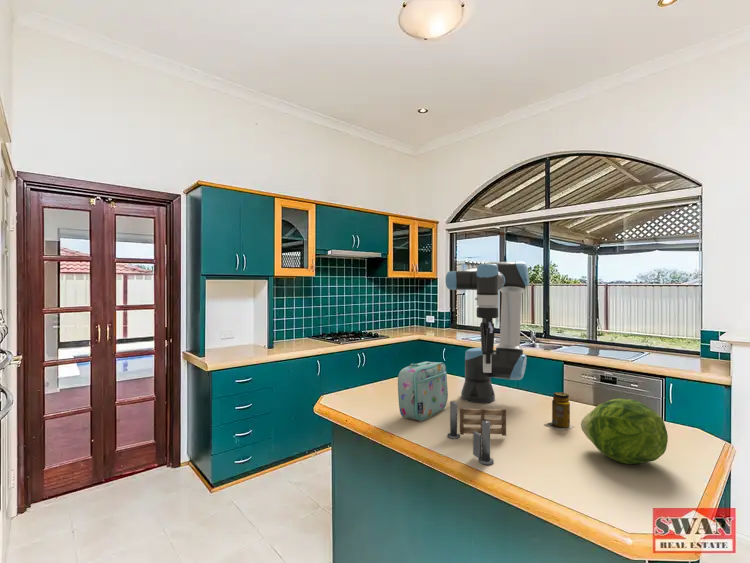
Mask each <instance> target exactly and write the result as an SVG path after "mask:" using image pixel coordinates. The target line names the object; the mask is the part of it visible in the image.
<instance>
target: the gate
mask: <svg viewBox="0 0 750 563" xmlns="http://www.w3.org/2000/svg"><path fill="white" fill-rule="evenodd" d="M465 416H480V418H478V417H477V418H476V417H475V418H474V417H473V418H470V417H468V418H467V417H465ZM485 416H497V417H498V416H501V418H486V417H485ZM483 420H487V421H490V426H501V427H490V435H502V436H504V437H506V436H507V409H506V408H484V407H480V408H464V407H459V435H460V436H464V435H465V434H468V435H469V434H470V435H471V434H472V435H473V431H477V432H478V433H480V434H481V435H482V421H483ZM465 425H466V426H465ZM467 425H471V426H467ZM472 425H473V426H474V427H473V426H472Z"/></svg>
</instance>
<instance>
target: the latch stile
mask: <svg viewBox="0 0 750 563" xmlns="http://www.w3.org/2000/svg"><path fill="white" fill-rule="evenodd" d="M490 428H491V425H490V421H487V420H483V421H482V435H481V434H480V433H478V432H477V431H473V434H472V454H473V456H475V457H476V458H477V459H478V460H477V461H478V463H479V464H481V465H484V466H492V465H494V463H495V462H494V459H493V458H492V457H491V434H490Z"/></svg>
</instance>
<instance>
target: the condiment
mask: <svg viewBox="0 0 750 563" xmlns="http://www.w3.org/2000/svg"><path fill="white" fill-rule="evenodd" d="M570 408H571V402H570V396H569V394H568V393H566V392H562V391H561V392H560V391H558V392H557V391H556V392H553V399H552V402H551V422H548V423H544V424H543V425H544V426H546V427H548V428H552V429H554V430H558V431H561V432H563V431H565V430H569V429H572V428H574V427H575V425H572V424H571V422H570V421H571V409H570Z"/></svg>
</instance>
